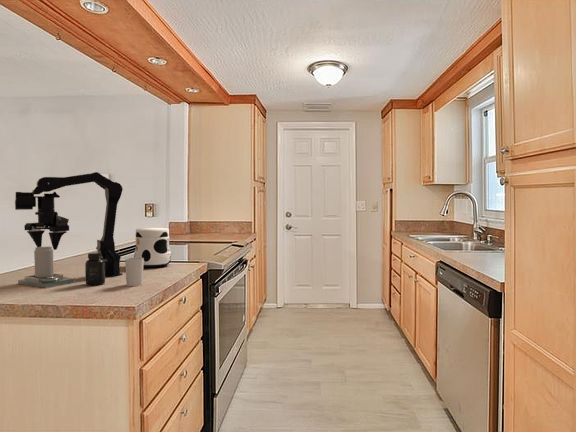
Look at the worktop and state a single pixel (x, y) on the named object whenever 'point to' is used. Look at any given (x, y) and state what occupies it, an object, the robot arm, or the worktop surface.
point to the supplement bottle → (95, 269)
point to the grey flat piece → (46, 281)
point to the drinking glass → (134, 271)
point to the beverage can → (43, 262)
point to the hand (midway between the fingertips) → (47, 249)
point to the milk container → (153, 246)
